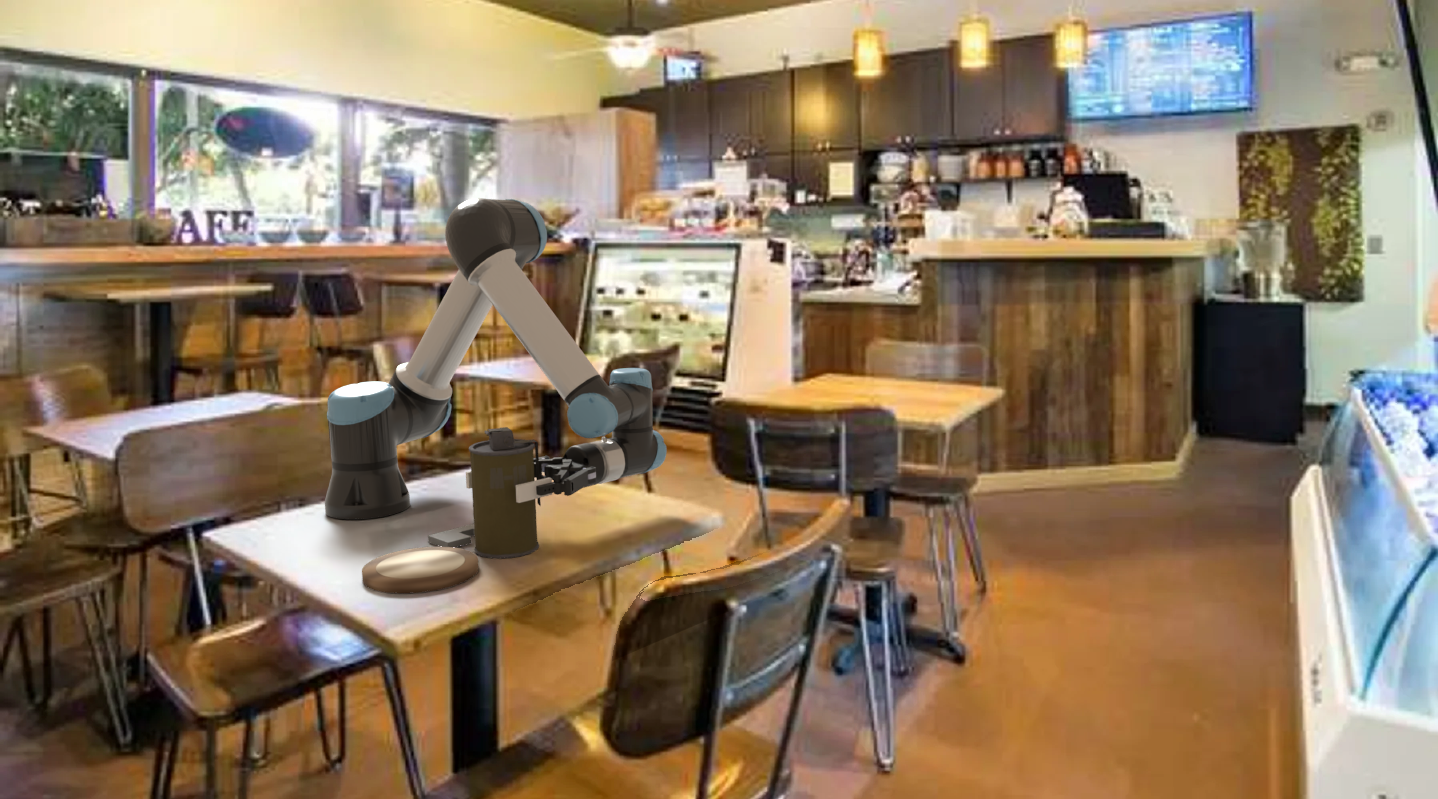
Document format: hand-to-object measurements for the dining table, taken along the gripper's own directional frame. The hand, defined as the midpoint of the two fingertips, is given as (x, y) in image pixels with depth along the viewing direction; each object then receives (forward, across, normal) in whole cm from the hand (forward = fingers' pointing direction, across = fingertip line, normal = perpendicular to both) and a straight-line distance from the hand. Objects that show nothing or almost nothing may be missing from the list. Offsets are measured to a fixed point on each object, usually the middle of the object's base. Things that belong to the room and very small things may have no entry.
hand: (491, 487), depth 160 cm
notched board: (-2, -10, +11) cm, 15 cm away
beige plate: (+13, 0, +11) cm, 17 cm away
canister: (-3, 0, +11) cm, 12 cm away
